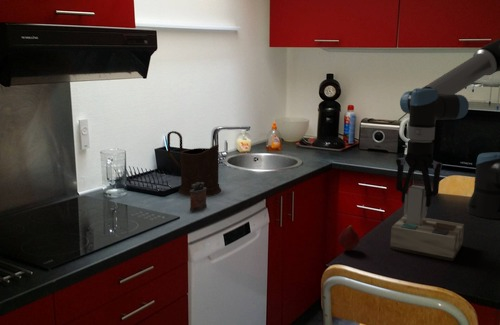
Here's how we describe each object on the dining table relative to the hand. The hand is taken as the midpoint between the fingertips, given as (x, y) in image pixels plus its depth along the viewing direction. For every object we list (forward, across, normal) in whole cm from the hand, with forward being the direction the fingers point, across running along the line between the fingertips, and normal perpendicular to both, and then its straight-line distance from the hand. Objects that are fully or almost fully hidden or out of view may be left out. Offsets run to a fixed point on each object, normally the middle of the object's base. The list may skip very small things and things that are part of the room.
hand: (415, 214), depth 163 cm
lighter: (+9, -78, -6) cm, 79 cm away
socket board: (+9, +4, -2) cm, 10 cm away
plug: (+5, 0, 0) cm, 5 cm away
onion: (+9, -14, -18) cm, 25 cm away
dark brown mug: (+10, -96, +14) cm, 98 cm away
